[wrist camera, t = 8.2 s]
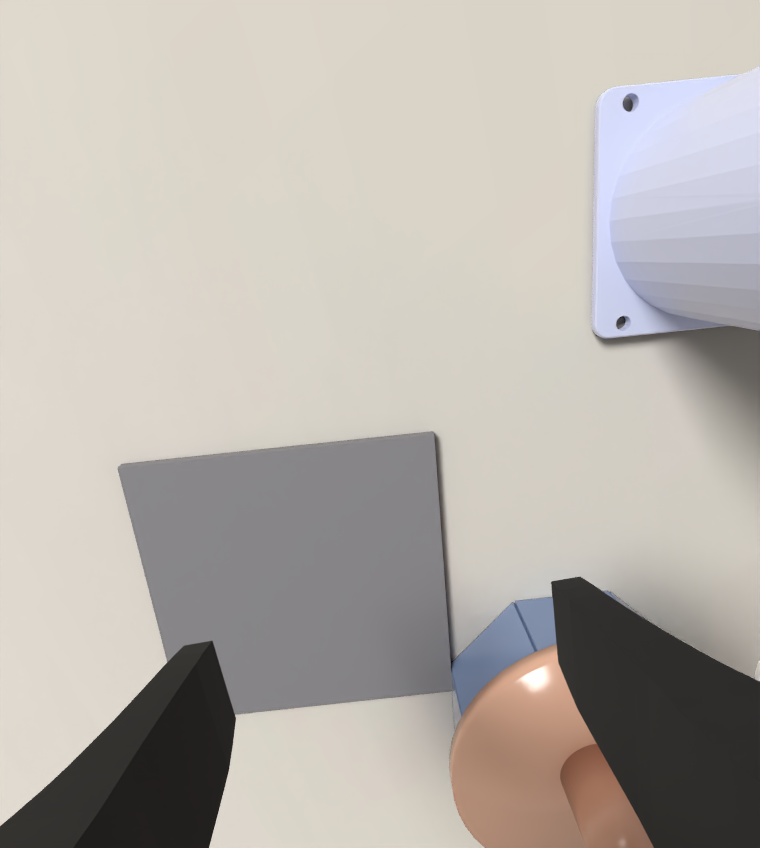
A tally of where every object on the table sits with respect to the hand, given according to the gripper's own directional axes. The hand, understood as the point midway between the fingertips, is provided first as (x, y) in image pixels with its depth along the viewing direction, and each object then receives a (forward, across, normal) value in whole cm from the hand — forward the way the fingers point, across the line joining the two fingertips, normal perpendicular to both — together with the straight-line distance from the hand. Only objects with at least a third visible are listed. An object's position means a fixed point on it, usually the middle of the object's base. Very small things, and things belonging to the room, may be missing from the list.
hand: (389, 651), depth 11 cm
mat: (+10, +4, +4) cm, 12 cm away
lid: (+7, -6, +12) cm, 15 cm away
